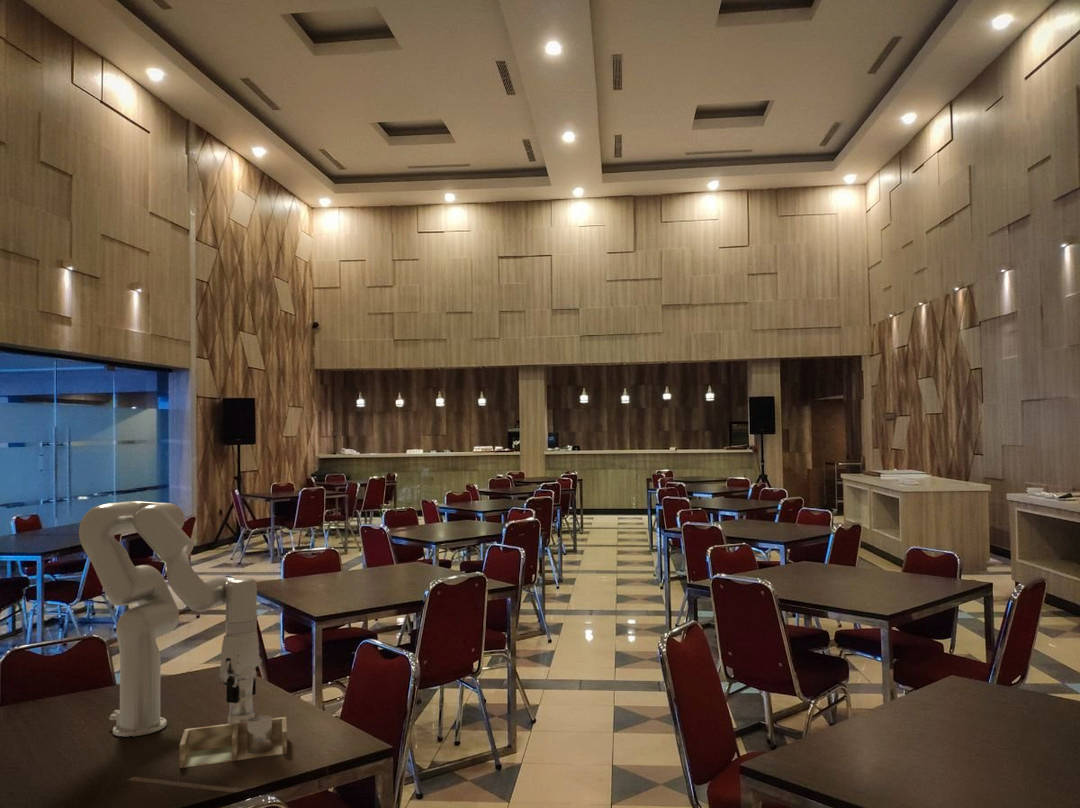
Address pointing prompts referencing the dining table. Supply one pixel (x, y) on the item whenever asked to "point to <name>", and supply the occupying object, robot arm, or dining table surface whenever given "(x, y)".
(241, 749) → the divider rack
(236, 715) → the plastic bottle
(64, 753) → the dining table surface
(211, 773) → the dining table surface
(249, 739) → the grey short cylinder
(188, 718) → the dining table surface
